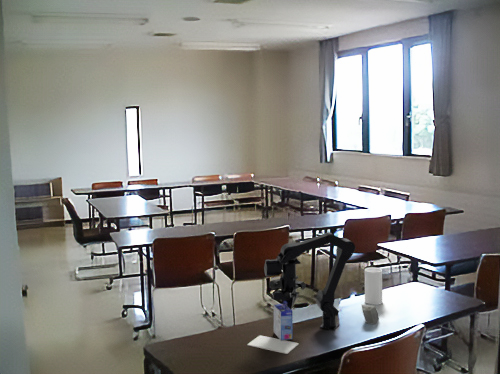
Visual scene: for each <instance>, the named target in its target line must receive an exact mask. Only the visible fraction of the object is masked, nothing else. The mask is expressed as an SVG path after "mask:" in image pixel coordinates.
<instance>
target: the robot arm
mask: <svg viewBox="0 0 500 374" xmlns="http://www.w3.org/2000/svg"><path fill="white" fill-rule="evenodd" d="M329 244H331V245H333V246H335V247H336V253H335V255H336V258H335V260H334V263H333V265H332V267H331V270H330V273H329V276H328V277H327V281H326V283H325V286H324V288H323V289H322V290H320V289H318V291H317V295H316V296H315V300H316V301H315V303H316V306H318V308H319V309H320V310H321V311H322V324H320V326H319V328H321V329H325V330H330V331H331V330H332V331H335V330H336V329H337V328H338V327H339V326H340V324H339V323H337V317H338V315H339V312H340V310H338V308H337V307H336V306H335V305H334V304H335V297H336V296H335V293H336V291H337V288H338V286H339V285H338V284H339V282H340V279H341V277H342V276H343V275H342V274H343V272H344V269H345V267H346V263H347V262H348V261H349V260H350V259H351V258H352V257H353V255H354V253H355V251H356V245H355V243H354V242H353V241H351V240H349V239H348V238H346V237H345V238H344V237H343V238H341V237H339V236H338V235H335V234H333V233H332V232H329V231H328V232H326V233H323V234H321V235H317V236H314V237H312V238H309V239H306V240H303V241H299V242H289V243H285V244H283V245H282V246H281V248H280V252H279V253H278V255H277V256H276V258H275V259H265V260H264V261H265V262H264V266H263V269H264V270H263V271H264V275H265V277H272V276H273V277H274V276H275V277H276V276H280V275H281V274H282V275H281V276H280V277H279V278H277V279H273V280H269V283H268V284H269V285H268V287H269V288H270V289H271V290H276V289H277V290H276V291H275V292H274V293H273V294H272V299H273V300H277V301H283V302H284V301H286V302H287V306H288V307H289V308H290V309H291V310H292V311H293V307H294V305H295V303H296V301H297V299H298V296H299V295H300V292H298V291H297V289H299V288H300V289H301V290H302V291H303V290H305V289H306V283H305V282H304V281H300V280H297V279H299V276H298V275H297V265H300V264H302V263H301V261H300V260H299V259H298V257H300V256H302V254H304V253H305V252H309V251H311V250H314V249H317V248H320V247H323V246H326V245H329Z"/></svg>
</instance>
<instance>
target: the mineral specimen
mask: <svg viewBox="0 0 500 374" xmlns="http://www.w3.org/2000/svg"><path fill="white" fill-rule="evenodd" d="M361 310H362V314H363V317H364V321H365V323H366V324H367V325H369V324H371V325H376V323H378V322H379V321H380V318H379V316H380V315H379V312H378V309H377V307H376V306H374V305H372V304H361Z"/></svg>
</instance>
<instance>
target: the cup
mask: <svg viewBox="0 0 500 374" xmlns="http://www.w3.org/2000/svg"><path fill="white" fill-rule="evenodd" d="M364 302H365V303H366V304H367V305H371V306H374V305H380V304H382V303H383V268H380V267H375V266H373V267H372V266H370V267H366V268H364Z"/></svg>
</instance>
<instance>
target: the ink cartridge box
mask: <svg viewBox="0 0 500 374" xmlns="http://www.w3.org/2000/svg"><path fill="white" fill-rule="evenodd" d="M293 328H294V327H293V309H292V310H291V309H290V308H289V307H288V306H287V302H286V301H283V302H282V303H278V304H273V333H274V334H275V336H277V339H280V340H285V341H289V340H293V339H294V336H293V331H294V330H293Z"/></svg>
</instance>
